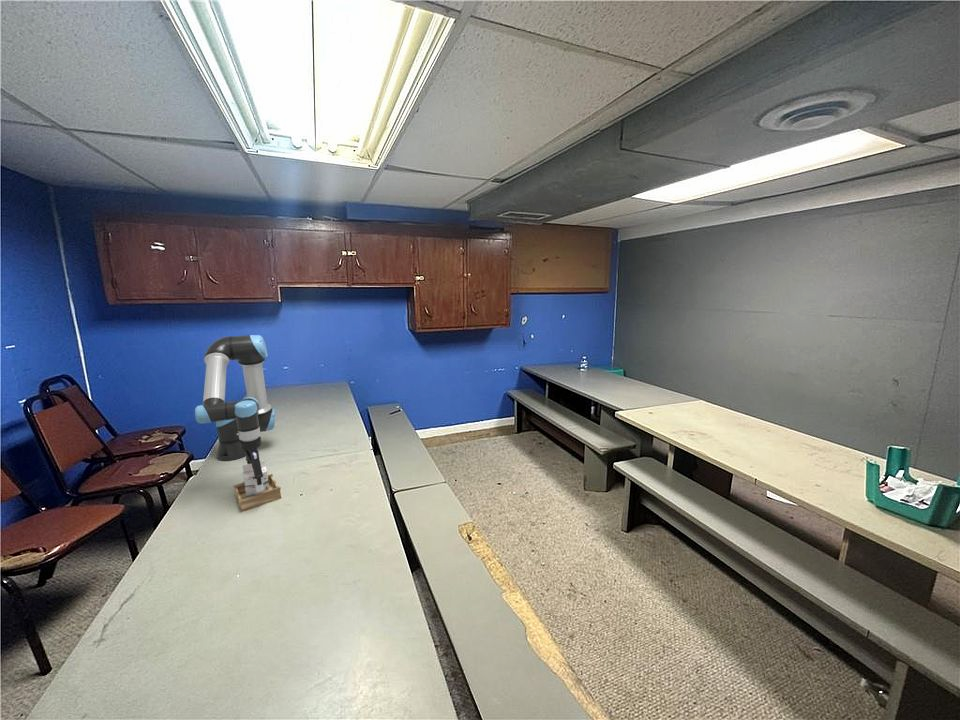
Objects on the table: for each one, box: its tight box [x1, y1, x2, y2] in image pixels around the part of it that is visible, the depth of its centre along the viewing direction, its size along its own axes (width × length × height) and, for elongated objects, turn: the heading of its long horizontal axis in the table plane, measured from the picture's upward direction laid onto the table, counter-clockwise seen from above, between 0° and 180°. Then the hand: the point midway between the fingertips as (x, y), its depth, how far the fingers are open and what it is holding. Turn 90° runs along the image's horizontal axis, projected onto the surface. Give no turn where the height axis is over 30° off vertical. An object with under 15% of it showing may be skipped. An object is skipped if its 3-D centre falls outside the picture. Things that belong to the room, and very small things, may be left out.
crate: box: [233, 473, 282, 513], centre depth 157 cm, size 15×15×5 cm
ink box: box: [242, 460, 269, 497], centre depth 156 cm, size 8×5×15 cm, turn 127°
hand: (256, 484), depth 156 cm, fingers open, 13 cm apart
